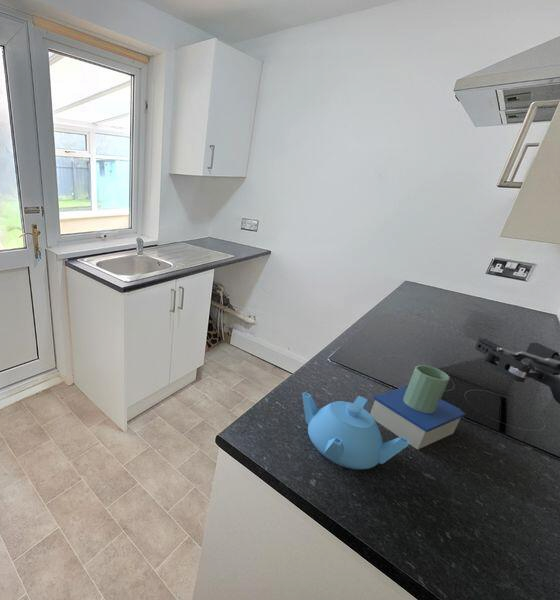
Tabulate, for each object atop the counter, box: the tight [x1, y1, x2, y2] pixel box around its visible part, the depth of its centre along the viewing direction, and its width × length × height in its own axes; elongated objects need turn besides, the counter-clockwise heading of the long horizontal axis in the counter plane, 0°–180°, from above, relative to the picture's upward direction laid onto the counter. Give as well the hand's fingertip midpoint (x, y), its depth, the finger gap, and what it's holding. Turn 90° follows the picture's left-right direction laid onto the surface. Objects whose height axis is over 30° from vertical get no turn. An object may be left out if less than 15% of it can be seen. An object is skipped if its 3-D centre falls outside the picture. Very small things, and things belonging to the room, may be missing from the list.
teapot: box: [301, 391, 410, 470], centre depth 65 cm, size 15×15×11 cm
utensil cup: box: [403, 364, 451, 413], centre depth 72 cm, size 6×6×9 cm
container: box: [369, 385, 466, 450], centre depth 75 cm, size 16×12×6 cm
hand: (504, 345), depth 55 cm, fingers open, 8 cm apart
